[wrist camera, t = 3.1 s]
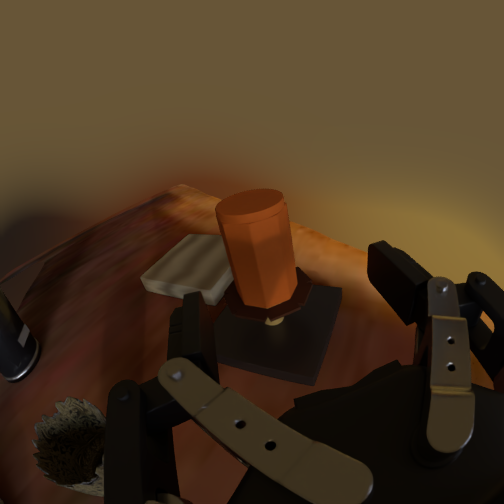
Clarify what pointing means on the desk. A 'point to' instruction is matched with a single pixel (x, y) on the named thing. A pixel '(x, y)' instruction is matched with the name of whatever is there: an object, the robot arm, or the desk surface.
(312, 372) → the hat stand
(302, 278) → the hat
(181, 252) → the grey stone tile
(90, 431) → the dark ridged round part
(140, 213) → the desk surface
